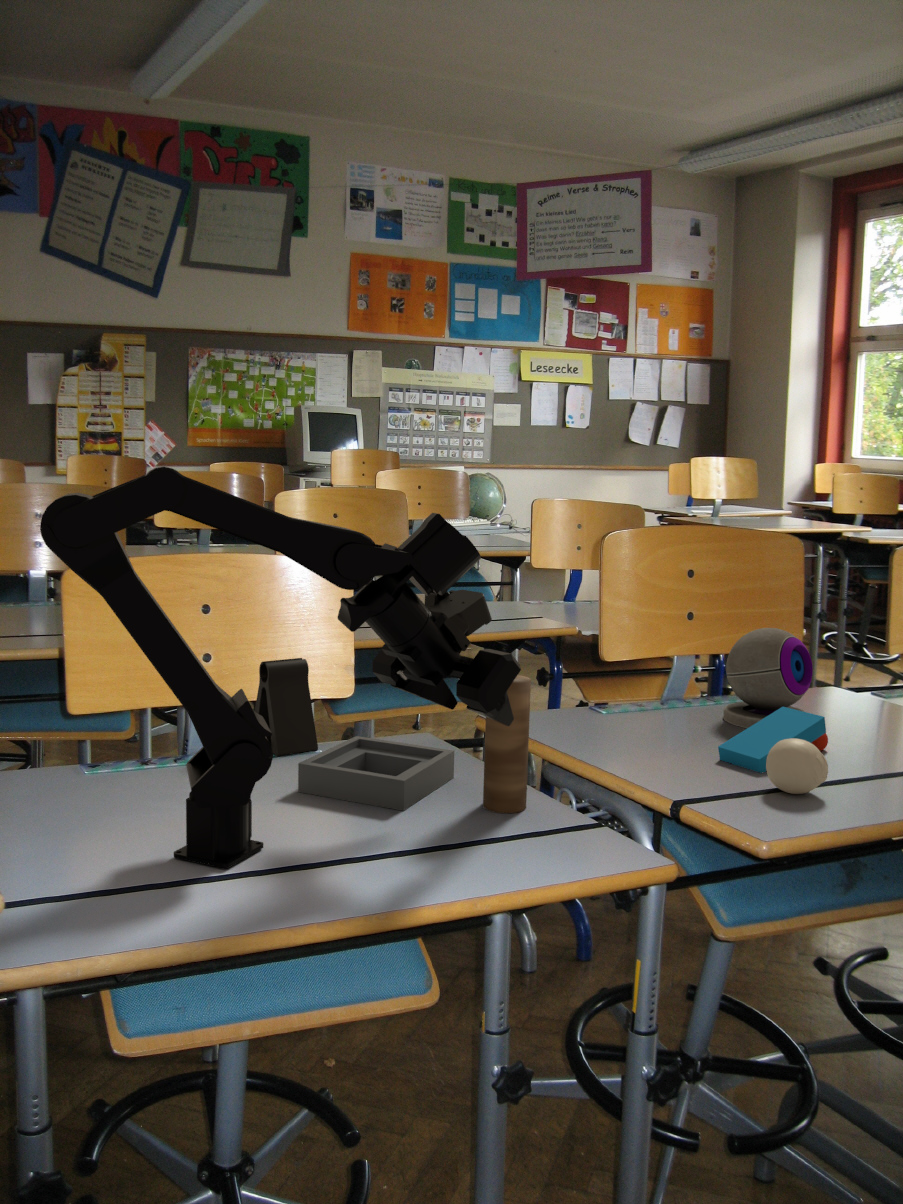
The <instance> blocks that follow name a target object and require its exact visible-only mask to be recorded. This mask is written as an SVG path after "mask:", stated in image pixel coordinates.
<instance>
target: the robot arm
mask: <svg viewBox="0 0 903 1204" xmlns="http://www.w3.org/2000/svg"><path fill="white" fill-rule="evenodd" d="M164 511H167V512H171V513H173V514H176V515H179V516H181V517H184V518H187V519H189V520H192V521H195V522H197V523H200V524H202V525H206V526H208V527H211V528H213V529H216V530H219V531H221V532H224V533H227V534H229V535H232V536H235V537H237V538H240V539H243V540H245V541H248V542H250V543H254V544H256V545H259V546H262V547H264V548H266V549H268V550H269V549H270V550H272V551H274V552H277V553H279V554H282V555H283V556H285V557H287V558H289V559H290V560H292V561H294V562H295V563H297V564H298V565H300V566H302V567H304V569H305V568H306V569H307V570H309V571H310V572H312V573H314V574H315V575H317V576H319V577H321V578H322V579H323V580H326V581H327V582H329V583H330V584H331V585H332V584H333V585H334V586H335V587H338V588H340V589H341V590H347V591H355V590H358V589H359V590H358V591H357V592H356V593H355V594H354V595H352V596H350V597H341V599H340V601H339V603H340V608H339V609H338V613H337V620H338V621H339V622H340V623H341V624H343V626H345V627H346V628H347V629H348V630H349V631H350V632H352V633H354V632H356V631H357V630H358V629H359V628H360V627H361V626H362V625H364V624H365V623H366V624H367V626H369V627H370V629H372V630H373V631H374V633H375V635H376V636H378V638H380V640H381V641H382V642H383V643H384V644H383V645H382V647H381V649H380V651H378V653H377V654H376V656H375V657H374V658H373V660H372V673H373V674H374V676H375V677H376V678H377V679H378V680H379V681H380V682H381V683H384V684H386V685H390V686H391V687H392V688H394V689H397V690H400V691H402V692H406V693H408V694H411V695H413V696H416V697H419V698H420V699H424V700H427V701H429V702H431V703H434V704H437V705H439V706H442V707H444V708H446V709H449V710H454V709H456V706H457V705H458V700H460V702H461V703H463V704H464V705H466V709H468V710H470V711H472V712H475V713H477V714H478V715H480V716H484V717H485V718H486V717H488V718H490V719H492V720H494V721H497V722H499V723H501V724H503V725H506V726H510V725H511V723H512V722H513V720H514V717H513V713H512V709H511V705H510V702H509V698H508V694H507V690H508V689H509V687H510V686H511V684H512V683H513V681H514V680H515V678H516V677H517V675H519V674H520V672H521V670H522V668H521V664H520V663H519V662H518V660H517V659H516V658H515V657H514V655H513V654H512V653H509V652H507V651H501V650H496V649H491V648H485V649H480V650H479V651H478V652H477V653H476V655H475V656H474V657H469V656H468V657H467V656H463V655H461V653H462V652H465V651H467V650H468V648H469V646H470V645H471V643H472V642H471V641H470V639H469V638H468V637H469V636H471V635H472V634H473V633H475V632H476V631H478V630H479V629H480V628H481V627H483V626H484V625H486V626H487V625H488V624H489V623H491V622H492V620H493V618H492V615H491V611H490V609H489V606H488V604H487V603H488V602H487V599H486V597H485V594H484V593H483V592H479V591H473V590H467V589H458V590H454V589H451V588H452V587H453V586H454V585H455V584H456V583H457V582H458V581H459V580H461V578H462V577H463V576H464V575H465V574H466V573H467V572H468V571H470V569H472V568H473V567H474V566H475V565H476V564H477V563H478V562H479V561H480V560H481V559H482V556H481V554H480V552H479V550H478V549H477V547H476V546H475V545H474V544H473V542H472V541H471V540H470V538H468V536H467V535H466V534H462V533H461V532H460V531H459V530H458V529H457V528H456V527H454V526H453V525H452V524H451V523H450V522H448V521H447V520H445V518H444V517H443V516H442V515H441V513H437V512H431V513H430V514H429V515H428V516H427V517H426V518H425V519H424V520H423V521H422V523H421V524H420V526H419V527H418V528H417V529H416V530H414V532H412V534H411V535H410V536H409V537H407V538H406V539H405V540H404V541H403V542H402V543H401V544H400V545H399V546H398V547H397V546H395V545H392V544H389V543H386V542H385V543H384V544H383V545H382V544H376V543H375V541H374V540H373V539H372V538H371V537H370V536H369V535H367V534H365V533H363V532H360V531H357V530H353V529H351V528H347V527H342V526H338V525H332V524H327V523H322V522H317V521H312V520H307V519H302V518H297V517H291V516H288V515H286V514H283V513H280V512H278V511H274V510H272V509H269V508H268V507H264V506H262V505H259V504H257V503H255V502H252V501H249V500H247V499H244V498H241V497H239V496H236V495H234V494H232V493H229V492H226V491H223V490H222V489H218V488H217V487H213V486H210V485H208V484H206V483H204V482H200V481H198V480H196V479H192V478H190V477H189V476H185V475H183V474H182V473H180V472H179V471H178V470H176V469H174V468H172V467H168V466H167V467H166V466H157V467H153V468H152V469H150V470H149V471H147V473H146V474H143V475H141V476H138V477H136V478H133V479H130V480H129V481H125V482H124V483H121V484H119V485H116V486H113V487H111V488H108V489H106V490H103V491H101V492H99V493H96V494H94V495H90V494H86V493H82V492H72V493H71V492H69V493H67V494H64V495H61V496H59V497H58V498H56V499H54V501H52V502H51V503H49V504H48V506H47V507H46V509H45V510H44V512H43V513H42V515H41V520H40V525H39V527H40V528H39V530H40V535H41V538H42V540H43V543H44V544H45V545H46V547H48V549H49V550H50V551H51V552H52V553H53V554H54V555H55V556H56V557H57V558H59V560H61V561H62V562H63V563H64V564H65V565H66V566H67V567H68V569H70V570H71V571H72V572H73V573H74V574H75V575H77V576H78V577H79V578H80V579H82V580H83V581H84V582H85V583H86V584H88V585H89V586H90V587H91V588H92V589H93V590H94V591H95V592H97V593H98V594H99V595H100V596H101V597H102V599H103V600H104V601H105V602H106V604H107V605H108V607H109V608H110V609H111V610H112V611H113V613H114V614H115V616H116V617H117V618H118V620H119V621H120V623H121V624H122V626H123V627H124V628H125V630H126V631H127V632H128V633H129V634H130V636H131V637H132V639H133V640H134V642H135V643H136V644H137V646H138V648H139V649H140V650H141V651H142V653H143V654H144V655H145V657H146V658H147V659H148V661H149V662H150V663H151V665H152V666H153V667H154V669H155V670H156V672H157V673H158V674H159V676H160V677H161V678H162V680H163V681H164V683H165V684H166V685H167V687H168V688H169V689H170V690H171V692H172V693H173V695H174V696H175V697H176V699H177V700H178V701H179V703H180V704H181V705H182V707H183V708H184V710H185V711H186V712H187V714H188V717H189V719H190V721H191V722H192V725H193V727H194V729H195V731H196V734H197V737H198V738H199V741H200V743H201V745H202V747H201V748H200V749H199V750H198V751H197V752H196V753H195V754H194V755H193V756H192V757H191V758H190V759H189V760H188V761H187V762H186V764H185V766H186V767H185V768H186V772H187V778H188V781H189V787H190V792H189V794H188V797H187V798H186V799H185V821H186V822H185V831H186V833H185V836H186V837H185V839H186V842H185V843H186V844H185V845H184V846H183V847H180V848H178V849H176V850H174V851H173V858H175V859H178V860H184V861H188V862H194V863H197V864H201V865H202V864H203V865H207V866H211V867H216V868H220V869H228V868H230V867H232V866H234V865H236V864H238V863H240V862H241V861H242V860H244V859H246V858H249V857H250V856H252V855H253V854H255V853H257V852H259V851H260V850H262V849H263V848H264V842H262V841H259V840H254V839H251V838H252V835H253V832H252V828H253V827H252V825H253V822H252V821H253V820H252V814H253V813H252V810H253V804H252V803H253V802H252V799H251V798H252V796H251V795H252V793H253V791H254V787H255V786H256V783H257V782H260V780H262V779H263V778H264V777H265V776H266V775H267V773H268V772H269V770H270V768H271V765H272V763H273V762H272V761H273V757H274V754H273V751H272V748H271V745H270V743H269V741H268V739H267V737H268V736H272V733H271V731H270V729H269V727H268V725H267V723H266V722H265V720H264V718H263V717H262V716H261V715H259V714H258V713H256V712H255V709H254V708H252V704H251V703H250V702H249V698H248V697H247V695H246V693H245V691H244V689H243V688H240V689H239V690H237V691H236V692H235V693H234V695H232V696H231V695H230V694H229V693H227V692H226V691H225V690H223V688H221V686H220V685H218V683H216V682H215V680H214V678H212V676H211V674H209V671H208V670H207V669H206V668H205V667H204V665H203V664H202V662H201V660H200V659H199V658H198V657H197V655H196V654H195V653H194V651H193V650H192V649H191V647H190V646H189V644H188V642H187V641H186V640H185V639H184V637H183V635H181V633H180V631H179V630H178V629H177V627H176V626H175V625H174V623H173V622H172V620H171V619H170V617H169V616H168V615H167V614H166V612H165V611H164V609H163V608H162V607H161V605H160V604H159V602H158V601H157V600H156V599H155V597H154V595H153V594H152V593H151V591H150V590H149V588H148V587H147V586H146V585H145V583H144V582H143V580H142V579H141V577H140V576H139V574H138V573H137V572H136V570H135V568H134V567H133V564H132V562H131V559H130V558H129V557H130V556H128V553H127V551H126V549H125V547H124V544H123V542H122V540H121V537H120V536H119V534H118V532H120V531H123V530H125V529H127V528H130V527H131V526H133V525H136V524H138V523H140V522H142V521H144V520H146V519H150V517H153V516H155V515H157V514H159V513H162V512H164ZM378 576H379V577H378ZM380 576H381V577H380ZM375 577H378V578H377V579H375V580H374V578H375ZM408 581H410V583H412V585H414V586H415V588H417V590H418V591H420V592H421V593H422V594H424V602H423V601H422V600H421V598H420V597H419V596H418V594H416V592H415V591H414V590H413V588H412V587H411V586H410V585H409V584H408ZM450 589H451V590H450ZM447 677H451V678H454V679H458V680H457V682H456V691H455V692H456V697H455V694H454V693H453V691H452V690H451V688H450V687H449V685H448V684H447V682H446V681H445V680H444V679H447ZM457 698H458V700H457Z"/></svg>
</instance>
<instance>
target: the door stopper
mask: <svg viewBox="0 0 903 1204" xmlns="http://www.w3.org/2000/svg"><path fill="white" fill-rule="evenodd" d="M309 671H310V670H309V663H308V661H307V659H306V658H303V657H299V658H298V657H297V658H288V659H287V658H286V659H277V660H276V659H275V660H267V661H266V660H265V661H264V660H263V661H261V662H260V664H259V669H258V673H259V680H258V681H259V683H258V689H257V694H256V700H255V707H254V711H255V712H256V713H258V714H259V715H261V716H262V717H263V718H264V720H265V722H266V723H267V725H268V727H269V729H270V731H271V733H272V736H268V737H267V739H268V741H269V743H270V745H271V748H272V751H273V756H276V757H282V756H289V755H295V754H302V753H308V752H314V751H318V750H319V745H318V737H317V731H316V724H315V719H314V713H313V712H314V711H313V705H312V698H311V690H310V686H309V685H310V684H309Z"/></svg>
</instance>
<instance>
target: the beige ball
mask: <svg viewBox="0 0 903 1204" xmlns="http://www.w3.org/2000/svg"><path fill="white" fill-rule="evenodd" d="M766 770H767V772H766V774H767V776H768V777H767V778H769V781H770V783H771V784H773V786H775V787H776V788H777V789H778V790H781V791H782V792H785V793H787V794H792V795H802V794H806V793H809V792H812V791H814V790H815V789H816V788H817V787H819V786H820V785H821V784H823V783H825V782H826V780H827V779H828V774H829V764H828V761H827V759H826V757H825V755H824V754H823V753H822V752H821V751H819V749H818V748H817V747H816V746H814V745H813V744H812V743H810V742H808V741H805V740H802V739H796V738H791V739H784V740H781V741H779V742H777V743H776V744H775V745H774V746H773V747H772V748H771V750H770V751H769V753H768V756H767V760H766Z"/></svg>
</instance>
